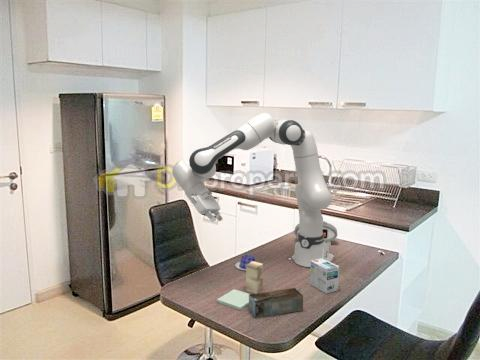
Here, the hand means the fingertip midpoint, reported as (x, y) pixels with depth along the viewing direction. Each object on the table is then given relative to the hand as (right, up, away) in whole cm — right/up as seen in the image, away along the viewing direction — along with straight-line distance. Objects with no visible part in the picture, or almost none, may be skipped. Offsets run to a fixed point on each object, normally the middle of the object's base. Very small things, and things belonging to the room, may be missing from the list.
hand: (217, 220), depth 167 cm
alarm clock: (+51, -18, +56) cm, 78 cm away
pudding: (+13, -24, +22) cm, 35 cm away
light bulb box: (+44, -28, +1) cm, 52 cm away
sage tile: (+8, -30, -12) cm, 33 cm away
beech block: (+15, -28, -2) cm, 32 cm away
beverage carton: (+22, -31, -18) cm, 42 cm away
